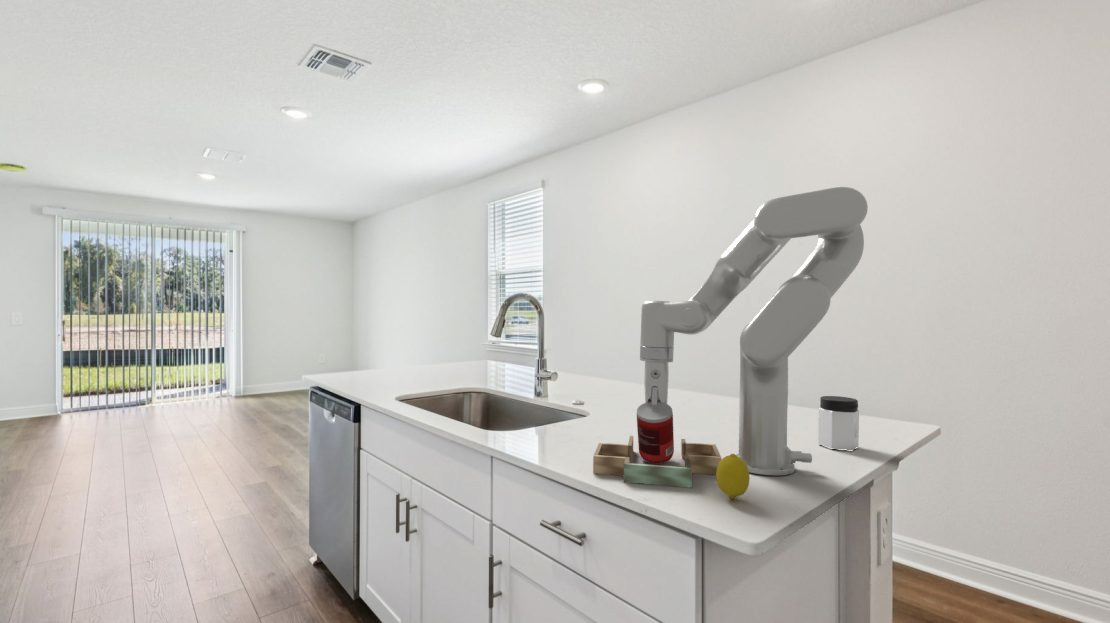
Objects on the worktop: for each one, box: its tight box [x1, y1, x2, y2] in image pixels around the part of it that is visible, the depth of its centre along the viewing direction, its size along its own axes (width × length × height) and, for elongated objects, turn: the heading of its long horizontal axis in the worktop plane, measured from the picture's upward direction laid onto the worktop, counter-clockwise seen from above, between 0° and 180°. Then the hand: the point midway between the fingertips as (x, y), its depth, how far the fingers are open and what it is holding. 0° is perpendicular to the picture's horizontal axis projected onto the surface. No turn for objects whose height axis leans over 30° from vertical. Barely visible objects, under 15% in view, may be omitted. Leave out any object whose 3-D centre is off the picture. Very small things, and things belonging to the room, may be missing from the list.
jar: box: [817, 395, 860, 451], centre depth 126 cm, size 9×8×12 cm
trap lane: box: [592, 435, 722, 489], centre depth 108 cm, size 25×23×4 cm
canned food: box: [636, 402, 675, 465], centre depth 111 cm, size 8×8×11 cm
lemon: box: [715, 453, 750, 500], centre depth 90 cm, size 6×6×8 cm
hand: (653, 434), depth 117 cm, fingers closed
